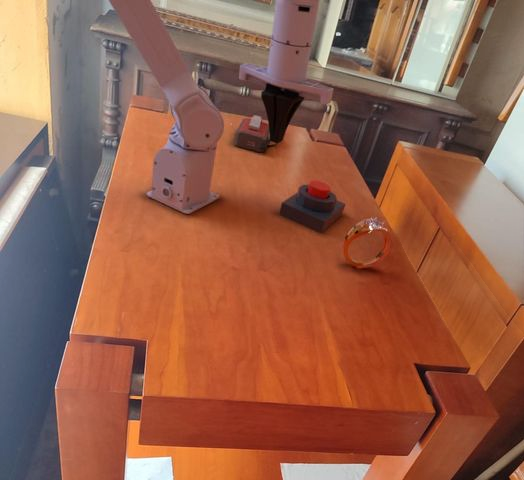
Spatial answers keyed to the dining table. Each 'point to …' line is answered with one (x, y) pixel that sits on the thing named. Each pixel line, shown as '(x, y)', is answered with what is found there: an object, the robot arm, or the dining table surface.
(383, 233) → the ring
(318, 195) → the light button
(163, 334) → the dining table surface
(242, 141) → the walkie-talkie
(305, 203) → the switch box
